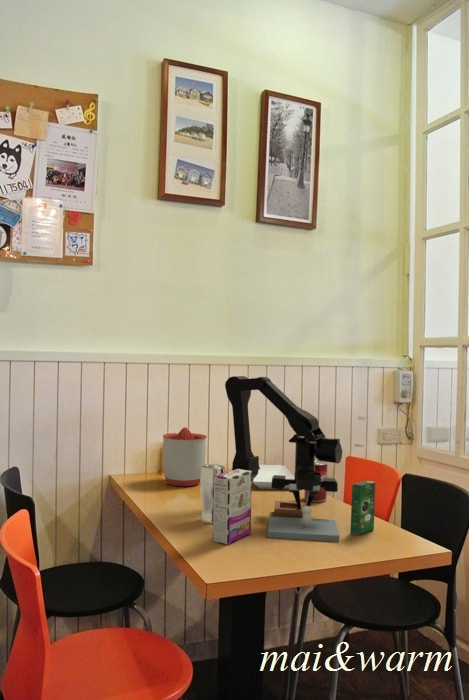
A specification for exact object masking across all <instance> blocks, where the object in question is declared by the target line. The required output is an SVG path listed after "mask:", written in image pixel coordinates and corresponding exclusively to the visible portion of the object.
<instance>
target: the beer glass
mask: <svg viewBox="0 0 469 700" xmlns="http://www.w3.org/2000/svg"><path fill="white" fill-rule="evenodd" d="M223 473H226V467H225V465H221V464H214V463H213V464H212V463H211V464H205V465H202V466H201V476H200V483H199V487H200V488H199V490H200V496H201V504H202V506H201V509H202V510H201V514H200V522H201V523H204V524H212V525H213V505H214V504H213V497H214V476H216V475H219V474H223Z"/></svg>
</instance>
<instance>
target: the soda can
mask: <svg viewBox="0 0 469 700" xmlns="http://www.w3.org/2000/svg"><path fill="white" fill-rule="evenodd" d="M328 469H329V467H328V462H323V461H319V460H315V472H317V473H321V481H323V478H328V472H329V470H328ZM303 491H304V493H303V497H304V499H305V501H307V497H308V490H303ZM319 491H320V493H319V494H316V495H315V496H314V498H313V500H312V502H311V503H323V502H326V500H327V497H328V491H326V490H325V489H324V488H322V487H320V489H319Z"/></svg>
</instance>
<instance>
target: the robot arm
mask: <svg viewBox="0 0 469 700" xmlns="http://www.w3.org/2000/svg"><path fill="white" fill-rule="evenodd" d="M271 380H272V379H270V378H269V377H268V376H259V377H254V378H253V377H251V378H248V377H247V376H244V375H237V376H236V375H235V376H234V375H233V376H230V377H228V378H227V379H226V381H225V383H224V388H225V392H226V396H227V399H228V400H229V403H230V404H231V406H232V419H233V420H232V421H233V432H234V445H235V453H234V457H233V460H232V466H231V468H232V469H231V471H232V470H236V469H241V470H248V471H252V483H253V479H254V478H255V477H256V476H257V475H258V470H259V469H260V467H259V465H260V463H259V462H260V457H259V455H254V452H252V443H251V431H250V430H251V429H250V419H249V407H248V406H249V405H248V404H249V401H250V399H251V395H252V391H259V392H260V393H261V394H262V395H263V396H264V397H265V398H266V399H267V400H268V401H269V402H270V403H271V404H272V405H273V406H274V407H275V408H276V409H278V410H279V412H281V414H282V415H283V416H285V418H286V419H287V422H288V424H289V426H290V427H291V429H292V430H293V431H294V433H295V434H293V436H292V437H291V438H290V439H289V440H288V442H289V443H294V444H295V451H294V453H295V455H294V457H295V458H294V479H286V476H282V475H274V476H273V477H272V488H275V490H283V488H284V487H285V485H286V486H289V489H288V492H289V493H292V495H293V496H294V499H295V502H297V506H298V509H301V503H300V502H301V496H300V491H302V490H303V491H304V490H308V497H307V500H306V502H305V503H306V506H309V507H310V508H311V504H312V503H313V502H312V500H313V498H314V496H315V495H316V494H319V493H320V491H319V489H320V487H322V488H324V489H325V490H326V491H327V493H328V492H329V493H332V492H333V493H337V492H339V491H338V487H339V484H338V481H337V480H336V478H335V477H327V478H323V481H321V473H317V472H315V461H316V459H317V461H322V462H326V463H333V464H339V463H341V461H342V458H343V449H342V444H341V440H340V438H337V437H336V438H328V437H326V435H325V434H324V432H323V430H322V429H321V427H320V426H319V425H320V424H319V423H320V422H319V419H318V418H317V417H315V416H314V415H313V414H312V413H310V412H309V411H307V410H305V409H302V408H300V406H298V405H296V403H294V402H293V400H291V398H289V397H288V396H287V395H286V394H285V393H284V392H283V391H282V390H281V389H280V388H279V387H277V386H276V384H275V383H274V382H272V381H271Z"/></svg>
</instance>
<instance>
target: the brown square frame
mask: <svg viewBox="0 0 469 700" xmlns="http://www.w3.org/2000/svg"><path fill="white" fill-rule="evenodd" d="M300 503H301V509H298V506H297V502H296V501H285V500H283V501H282V500H275V501H274V509H273V510H274V512H273V513H274V514H273V517H289V518H303V512H302V509H303V507H305V506H306V503H307V502H302V501H300Z"/></svg>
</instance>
